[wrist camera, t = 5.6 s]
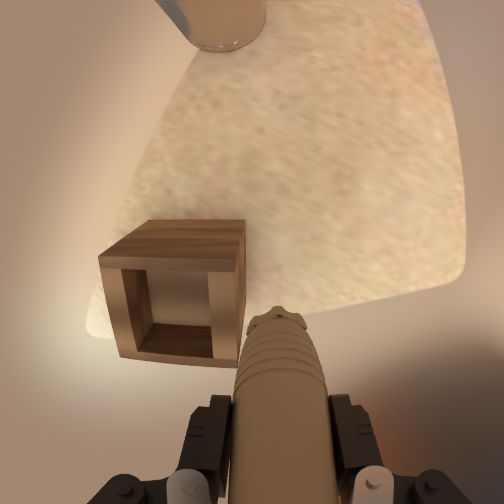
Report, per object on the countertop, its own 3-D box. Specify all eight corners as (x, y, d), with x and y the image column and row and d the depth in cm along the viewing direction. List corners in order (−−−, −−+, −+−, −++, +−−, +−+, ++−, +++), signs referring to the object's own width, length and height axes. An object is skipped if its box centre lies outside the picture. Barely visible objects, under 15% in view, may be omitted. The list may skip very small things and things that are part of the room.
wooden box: (148, 220, 34) (97, 256, 23) (245, 219, 33) (234, 259, 22) (157, 299, 37) (120, 357, 26) (245, 302, 37) (237, 368, 25)
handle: (343, 299, 16) (445, 588, 2) (286, 379, 18) (296, 620, 4) (263, 262, 16) (249, 629, 2) (215, 352, 18) (159, 609, 4)
